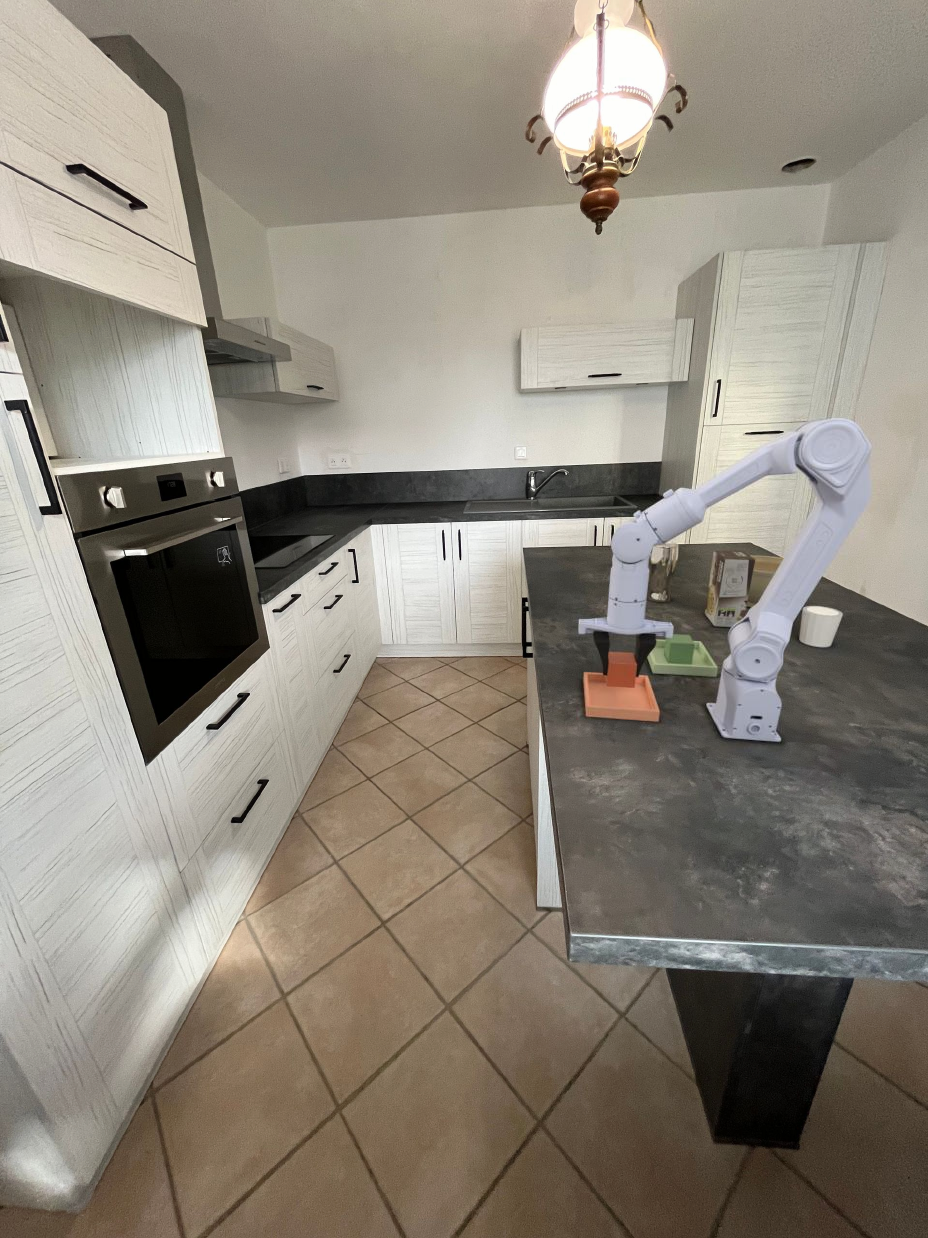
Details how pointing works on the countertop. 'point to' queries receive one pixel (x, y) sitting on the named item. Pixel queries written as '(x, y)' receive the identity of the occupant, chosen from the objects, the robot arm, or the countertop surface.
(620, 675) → the terracotta block
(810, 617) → the white cup
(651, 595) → the beer glass
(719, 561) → the coffee box
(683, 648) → the sage block
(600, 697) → the terracotta tray
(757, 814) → the countertop surface
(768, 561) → the planter bowl
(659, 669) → the sage tray
